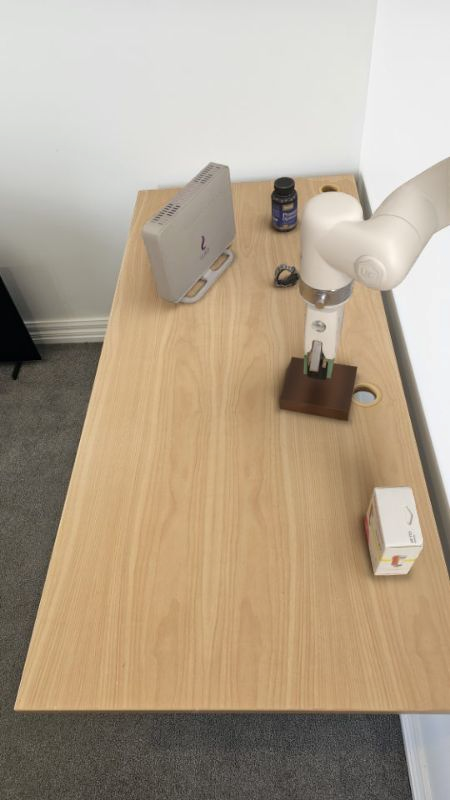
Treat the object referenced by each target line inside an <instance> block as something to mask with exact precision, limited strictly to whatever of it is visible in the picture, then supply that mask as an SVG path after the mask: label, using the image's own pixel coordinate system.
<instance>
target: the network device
mask: <svg viewBox="0 0 450 800" xmlns="http://www.w3.org/2000/svg"><path fill="white" fill-rule="evenodd" d="M230 170H231V169H230V167H229V166H228V165H226V164H221V163H217V162H214V161H213V162H212V161H210V162H209V163H208V164H206V165H205V167H203V168H202V169H201V170H200V171H199V172H198V173H197V174H196V175H195V176H194V177H193V178H192V179H191V180H189V182H188V183H186V184H185V185H184V186H183V187H182V188H181V189H180V190H179V191H178V192H177V193H176V194H175V195H173V196H172V198H171V199H170V200H169V201H167V202H166V204H165V205H163V206H162V207H161V208H160V209H159V210H158V211H157V212H156V213H155V214H154V215H153V216H152V217H150V219H149V220H148V221H147V222H146V223H144V225H143V226H142V229H141V237H142V241H143V244H144V247H145V251H146V255H147V258H148V261H149V265H150V268H151V272H152V275H153V281H154V282H155V283H154V284H155V287H156V290H157V294H158V297H159V298H160V299H162V300H165V301H168V302H170V303H173V304H178V303H180V302H181V303H184V304H192V303H195V302H198V301H200V299H201V298H202V297H203V296H204V295H205V294H206V293H207V291H208V290H209V289H210V288H211V287H212V286H213V285H214V283H215V282H216V281H217V280H218V279H219V277H221V275H222V274H223V273H224V272H225V271H226V269H227V268H228V267H229V266H230V265H231V263H233V261H234V253H233V251H231V250H230V249H228V247H229V246H230V245H231V244H232V243H233V241H234V240H235V238H236V234H237V230H236V220H235V219H236V218H235V213H234V212H235V209H234V200H233V189H232V181H231V172H230ZM221 255H226V256H228V258H227V259H226V260H225V261H224V263H223V264H221V266H220V267H219V268H218V269H216V270H212V269H211V267H212V265H213V264H214V263H215V262H216V261H217V260H218V259H219V258H220V256H221ZM199 280H203V281H205V282H206V283H205V284H204V285H203V287H202V288H201V289H200V290H199V291H198V292H197V294H195V295H194V296H192V297H189V296H186V295H187V293H189V291H190V290H191V289H192V288H193V287H194V286H195V285H196V283H198V282H199Z"/></svg>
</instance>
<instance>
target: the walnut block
mask: <svg viewBox="0 0 450 800" xmlns="http://www.w3.org/2000/svg"><path fill="white" fill-rule="evenodd" d="M357 373H358V366H355V365H349V364H343V363H336V362H334V364H333V369H332V373H331V378H326V380H322V379H314V378H309V377H307V374H304V357H303V358H302V357H297V356H291V358H290V362H289V365H288V368H287V372H286V376H285V379H284V382H283V386H282V389H281V393H280V397H279V409H280V410H283V411H289V412H295V413H301V414H308V415H312V416H316V417H317V416H318V417H322V418H329V419H335V420H341V421H346V422H348V421H349V418H350V417H349V416H350V411H351V406H352V400H353V395H354V390H355V383H356V379H357V378H356V377H357Z"/></svg>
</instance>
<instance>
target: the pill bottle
mask: <svg viewBox="0 0 450 800" xmlns="http://www.w3.org/2000/svg"><path fill="white" fill-rule="evenodd" d="M295 187H296V182H295V180H294V179H293V177H289V176H281V177H278V178H276V179H275V180H274V182H273V191H272V192H271V195H270V203H271V204H270V207H271V226H272V228H273V229H274V230H275V231H278V232H280V233H286V232H290V231H293V230H294V229H295V228H296V227H297V225H298V200H299V199H298V197H299V194H298V191H297V189H295Z"/></svg>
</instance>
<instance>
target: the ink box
mask: <svg viewBox="0 0 450 800" xmlns="http://www.w3.org/2000/svg"><path fill="white" fill-rule="evenodd" d="M363 522H364V528H365V533H366V534H365V535H366V539H367V545H368V550H369V555H370V561H371V566H372V571H373V575H374V576H397V575H398V576H399V575H408V573H409V571H410V570H411V568H412V566H413V565H414V563H415V561H416V560H417V558H418V556H419V555H420V553H421V552H422V550H423V548H424V537H423V534H422V533H423V532H422V528H421V525H420V521H419V514H418V511H417V506H416V501H415V496H414V492H413V489H412V488H411V487H410V486H409V485H393V486H392V485H390V486H376V487H375V486H374V488H373V490H372V493H371V498H370V501H369V505H368V507H367V512H366V515H365V518H364V520H363Z"/></svg>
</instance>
